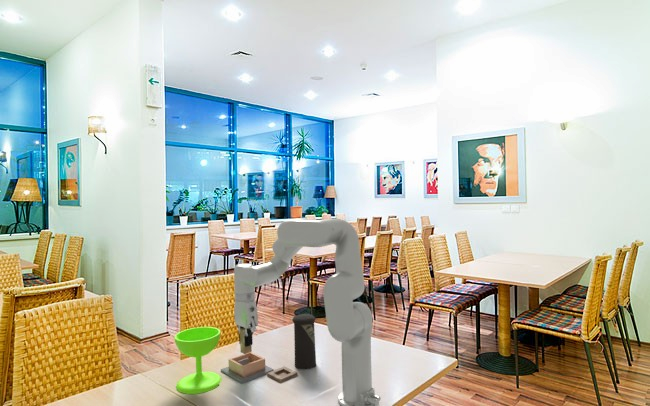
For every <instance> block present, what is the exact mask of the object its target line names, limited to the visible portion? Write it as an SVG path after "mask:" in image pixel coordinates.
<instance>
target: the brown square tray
mask: <svg viewBox="0 0 650 406" xmlns="http://www.w3.org/2000/svg"><path fill="white" fill-rule="evenodd" d="M266 375H267V377H269V378H270V379H272V380H275V381H277V382H278V383H283V382H285V381H287V380H289V379H293V378H295V377H297V376H298V372H297V371H295V370H293V369H291V368H289V367H286V366H285V365H284V366H282V367H279V368H277V369H274V371H271V372H269V373H267V374H266Z"/></svg>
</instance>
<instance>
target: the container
mask: <svg viewBox="0 0 650 406" xmlns="http://www.w3.org/2000/svg"><path fill="white" fill-rule="evenodd" d="M292 322H293V328H294V329H293V331H294V334H293V336H294V367H295V368H296V369H298V370H311V369H314V368H315V367H317V356H316V336H315V335H316V334H315V322H316V317H315V316H314V315H313V314H310V313H300V314H298V315H294V316H293V318H292Z"/></svg>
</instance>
